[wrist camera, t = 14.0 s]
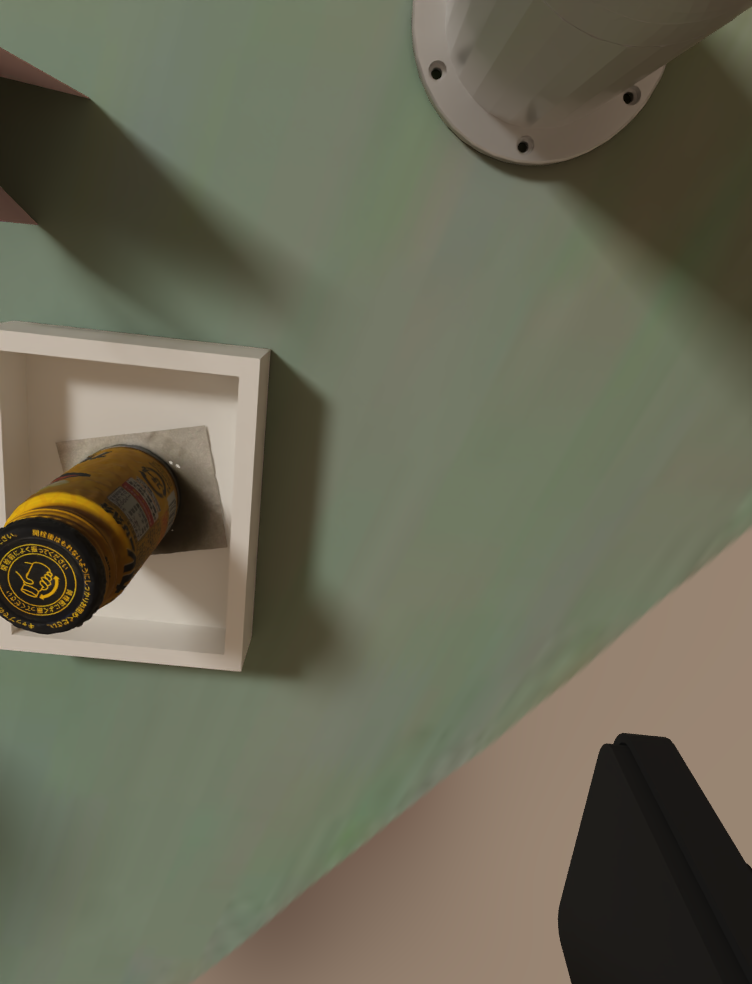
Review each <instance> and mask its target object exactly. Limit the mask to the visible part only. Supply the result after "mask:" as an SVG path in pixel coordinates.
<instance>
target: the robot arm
mask: <svg viewBox="0 0 752 984" xmlns="http://www.w3.org/2000/svg"><path fill="white" fill-rule="evenodd" d="M750 7H752V0H413V7H412V18H411V26H412V44H413V52H414V57H415V61H416V66H417V70H418V74H419V78H420V80H421V82H422V85H423V87H424V89H425V92H426V94H427V96H428V99H429V101H430V102H431V104H432V106H433V107H434V109H435V110H436V112H437V113H438V115H439V116H440V118H441V119H442V121H443V122H444V123H445V124H446V125H447V126H448V127H449V128H450V129H451V130H452V131H453V132H454V133H455V134H456V135H457V136H458V137H459V138H460V139H461V140H462V141H464V142H465V143H467V144H468V145H470V146H471V147H472V148H474V149H475V150H477V151H478V152H480V153H482V154H485V155H487V156H489V157H492V158H494V159H497V160H499V161H502V162H507V163H513V164H518V165H524V166H530V165H550V164H554V163H558V162H562V161H566V160H571V159H573V158H575V157H578V156H580V155H583V154H585V153H587V152H589V151H591V150H593V149H595V148H596V147H598V146H600V145H601V144H603V143H605V142H606V141H608V140H610V139H611V138H612V137H613V136H615V135H616V134H617V133H618V132H619V131H620V130H622V129H623V128H624V127H625V126H626V125H627V124H629V123H630V122H631V121H632V119H633V118H634V117H635V116H636V115H637V114H638V112H639V111H640V110H641V109H642V108H643V107H644V105H645V104H646V103H647V101H648V99H649V98H650V96H651V94H652V93H653V91H654V89H655V87H656V86H657V84H658V82H659V81H660V79H661V77H662V75H663V72H664V69H665V67H666V64H667V63H668V62H670V61H671V60H673V59H674V58H676V57H677V56H679V55H680V54H682V53H683V52H685V51H686V50H688V49H689V48H691V47H692V46H694V45H695V44H697V43H699V42H700V41H702V40H703V39H705V38H706V37H708V36H709V35H711V34H712V33H714V32H715V31H717V30H718V29H720V28H721V27H723V26H724V25H726V24H727V23H729V22H730V21H732V20H733V19H735V18H736V17H737V16H738V15H740V14H741V13H743V12H744V11H746V10H747V9H749V8H750ZM436 69H437V70H439V71H440V72H441V78H440V79H437V80H435V79H433V77H432V76H431V72H432V71H433V70H436ZM624 94H628V95H629V96H630V100H631V101H630V103H629V104H626V103H625V102H624V100H623V95H624ZM521 142H523V143H525V144H526V146H527V150H526V152H525V153H521V152H519V150H518V145H519V143H521ZM558 928H559V937H560V942H561V946H562V949H563V953H564V957H565V961H566V964H567V968H568V972H569V976H570V979H571V983H572V984H752V868H751V867H750V866H749V865H748V864H746V862H745V861H744V859H743V858H742V856H741V854H740V853H739V851H738V849H737V848H736V846H735V844H734V843H733V841H732V839H731V838H730V836H729V835H728V833H727V831H726V830H725V828H724V826H723V824H722V823H721V821H720V820H719V818H718V816H717V815H716V813H715V811H714V810H713V808H712V806H711V805H710V803H709V801H708V800H707V798H706V797H705V795H704V793H703V791H702V790H701V788H700V787H699V785H698V783H697V782H696V780H695V778H694V777H693V775H692V773H691V772H690V770H689V769H688V767H687V765H686V763H685V762H684V760H683V758H682V757H681V755H680V754H679V752H678V750H677V748H676V747H675V745H674V744H673V743H672V741H671V740H670V739H668V738H666V737H658V736H648V735H638V734H627V733H622V734H619V735H618V736H617V738H616V739H615V741H614V744H604V745H603V746H602V747H601V749H600V752H599V755H598V759H597V763H596V766H595V770H594V774H593V778H592V782H591V786H590V789H589V793H588V797H587V801H586V805H585V809H584V813H583V816H582V820H581V824H580V828H579V832H578V836H577V840H576V844H575V847H574V851H573V855H572V859H571V863H570V867H569V871H568V874H567V879H566V882H565V886H564V890H563V894H562V898H561V901H560V906H559V913H558Z"/></svg>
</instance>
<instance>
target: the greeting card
mask: <svg viewBox="0 0 752 984" xmlns="http://www.w3.org/2000/svg"><path fill="white" fill-rule="evenodd" d="M0 77H4V78H8V79H12V80H16V81H20V82H24V83H28V84H32V85H36V86H40V87H44V88H48V89H52V90H56V91H60V92H64V93H68V94H72V95H76V96H81V97H85V98H89V97H87V96H85V95H84V94H82V93H80V92H78V91H77V90H75V89H73V88H71V87H69V86H68V85H66V84H64V83H62V82H61V81H59V80H57V79H55V78H54V77H52V76H50V75H48V74H46V73H45V72H43V71H41V70H39V69H38V68H36V67H34V66H32V65H31V64H29V63H27V62H25V61H23V60H22V59H20V58H18V57H16V56H15V55H13V54H11V53H9V52H8V51H6V50H4V49H2V48H0ZM0 221H3V222H13V223H23V224H34V225H38V224H37V223H36V222H35V221H34V220H33V219H32V218H31V217H30V216H29V215H28V214H27V213H26V212H25V211H24V210H23V209H22V208H21V207H20V206H19V205H18V204H17V203H16V202H15V201H14V200H13V199H12V198H11V197H10V196H9V195H8V194H7V193H6V192H5V191H4V190H3V189H2V188H1V187H0Z"/></svg>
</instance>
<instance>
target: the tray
mask: <svg viewBox="0 0 752 984" xmlns="http://www.w3.org/2000/svg"><path fill="white" fill-rule="evenodd" d="M270 354H271V349H264V348H255V347H246V346H237V345H229V344H220V343H211V342H202V341H193V340H184V339H175V338H166V337H157V336H148V335H139V334H130V333H121V332H112V331H103V330H94V329H85V328H76V327H67V326H58V325H49V324H40V323H31V322H22V321H9V322H3V323H0V528H1V527H4V525H5V522H6V521H7V519H8V518H9V517H10V516H11V514H12V513H13V511H14V510H15V509H16V508H17V507H18V506H19V505H20V504H21V503H23V502H24V501H25V500H27V499H28V498H29V497H30V496H31V495H33V494H35V493H36V492H37V491H39V490H40V489H42V488H43V487H45V486H46V485H48V484H50V483H51V482H52V481H53V480H55V479H56V478H58V477H59V476H61V475H62V474H63V469H62V465H61V462H60V458H59V454H58V450H57V447H56V442H62V441H70V440H80V439H87V438H96V437H105V436H114V435H122V434H132V433H142V432H152V431H161V430H170V429H177V428H186V427H195V426H203V425H205V428H206V433H207V438H208V443H209V447H210V452H211V459H212V465H213V469H214V473H215V478H216V484H217V489H218V494H219V499H220V504H221V511H222V516H223V522H224V527H225V535H226V540H227V546H228V547H226V548H217V549H207V550H195V551H186V552H176V553H170V554H156V555H150V556H149V557H148V559H147V560H146V561H145V563H144V564H143V565H142V567H141V568H140V570H139V571H138V572H137V573H136V575H135V576H134V578H133V579H132V580H131V581H130V583H129V584H128V585H127V587H126V588H125V589H124V591H123V592H122V593H121V594H120V595H119V596H118V597H117V598H116V599H115V600H113V601H112V602H110V603H109V604H107V605H105V606H104V607H102V608H100V609H99V610H97V612H96V613H95V614H93V616H92V618H91V619H89V620H88V621H85V622H84V623H83V625H82V626H80V627H75V628H74V629H71V630H69V631H66V632H61V633H54V634H49V635H45V634H38V633H35V632H31V631H26V630H23V629H20V628H17V627H15V626H14V625H12V624H11V623H10V622H8V621H6V620H5V619H4V618H2V617H1V616H0V649H5V650H16V651H27V652H37V653H48V654H59V655H69V656H80V657H90V658H101V659H112V660H122V661H133V662H144V663H154V664H165V665H176V666H186V667H197V668H208V669H218V670H229V671H240V672H241V670H242V667H243V663H244V660H245V657H246V654H247V651H248V648H249V645H250V641H251V638H252V628H253V613H254V597H255V582H256V567H257V552H258V537H259V521H260V506H261V491H262V476H263V460H264V445H265V430H266V415H267V400H268V384H269V369H270ZM169 463H170V464H172V461H169ZM176 466H177V467H178V468H180V466H179V465H178V464H176ZM172 531H173V530H172Z"/></svg>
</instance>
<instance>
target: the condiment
mask: <svg viewBox="0 0 752 984" xmlns="http://www.w3.org/2000/svg"><path fill="white" fill-rule="evenodd" d="M56 447H57V450H58V454H59V458H60V462H61V465H62V469H63V474H62V475H61V476H59V477H58V478H56V479H55V480H53V481H52V482H51V483H50V484H48V485H46V486H45V487H43V488H42V489H40V490H39V491H37V492H36V493H35V494H33V495H31V496H30V497H29V498H28V499H27V500H25V501H24V502H23V503H21V504H20V505H19V506H18V507H17V508H16V509H15V510H14V511H13V513H12V514H11V516H10V517H9V518H8V519H7V521H6V522H5V525H4V527H1V528H0V616H1V617H2V618H4V619H5V620H6V621H8V622H10V623H11V624H12V625H14V626H15V627H17V628H20V629H23V630H26V631H31V632H35V633H38V634H45V635H49V634H54V633H61V632H66V631H69V630H71V629H74V628H75V627H80V626H82V625H83V623H84V622H85V621H88V620H89V619H91V618H92V616H93V614H95V613H96V612H97V610H99V609H100V608H102V607H104V606H105V605H107V604H109V603H110V602H112V601H113V600H115V599H116V598H117V597H118V596H119V595H120V594H121V593H122V592H123V591H124V589H125V588H126V587H127V585H128V584H129V583H130V581H131V580H132V579H133V578H134V576H135V575H136V573H137V572H138V571H139V570H140V568H141V567H142V565H143V564H144V563H145V561H146V560H147V559H148V557H149V556H150V555H156V554H170V553H176V552H186V551H195V550H207V549H217V548H226V547H228V546H227V540H226V535H225V527H224V522H223V516H222V511H221V504H220V499H219V494H218V489H217V484H216V478H215V473H214V469H213V465H212V459H211V452H210V447H209V443H208V438H207V433H206V428H205V425H203V426H195V427H186V428H177V429H170V430H161V431H152V432H142V433H132V434H122V435H114V436H105V437H96V438H87V439H80V440H70V441H62V442H56ZM169 461H172V464H170V463H169ZM176 464H178V465H179V466H180V468H178V467H177V466H176ZM172 530H173V531H172Z"/></svg>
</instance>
